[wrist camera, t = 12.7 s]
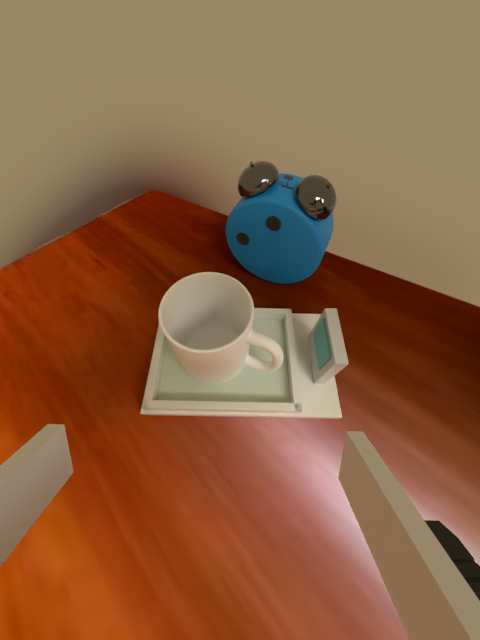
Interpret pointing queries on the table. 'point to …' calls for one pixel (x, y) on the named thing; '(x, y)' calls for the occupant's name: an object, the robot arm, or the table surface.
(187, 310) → the cup
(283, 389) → the dock
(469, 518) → the table surface
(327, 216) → the alarm clock
